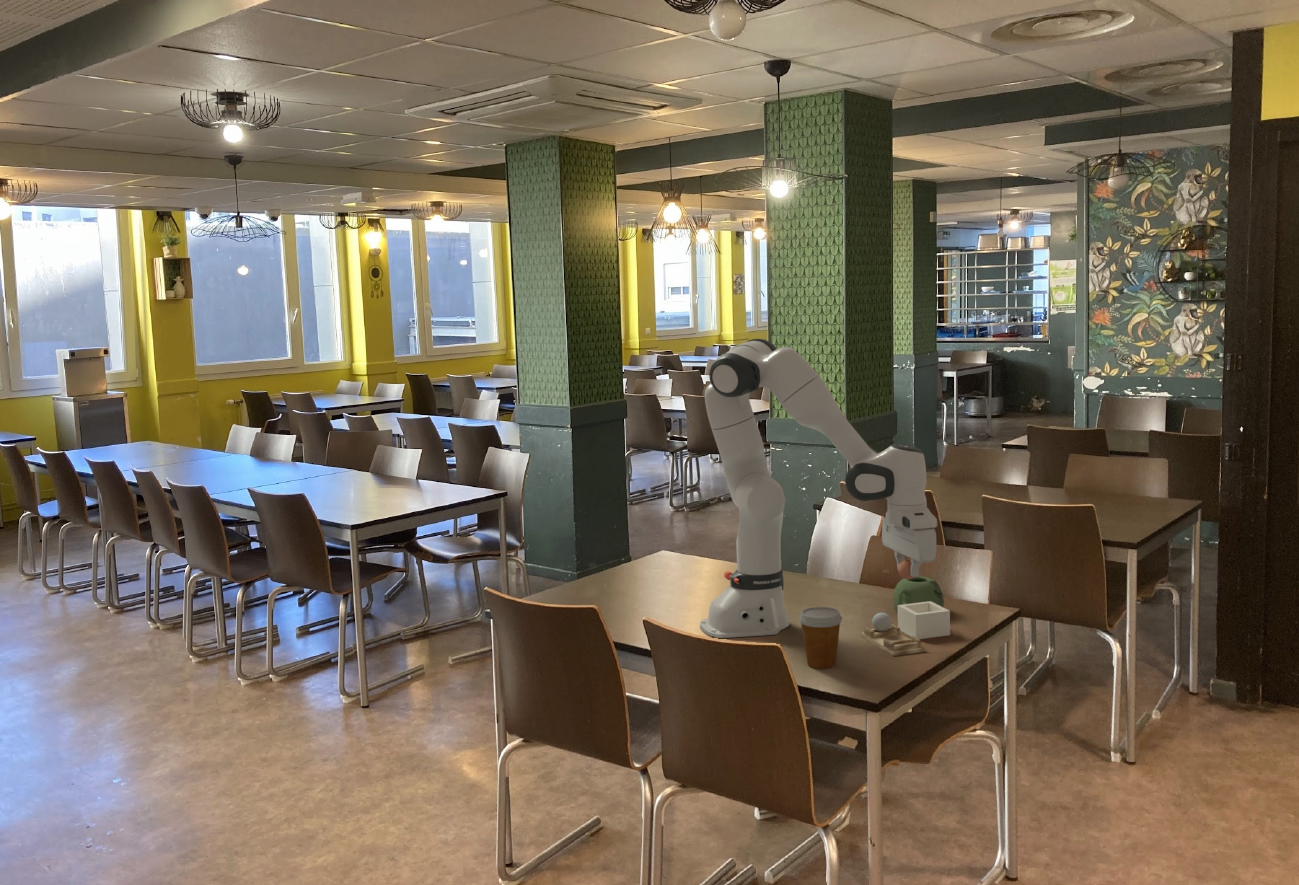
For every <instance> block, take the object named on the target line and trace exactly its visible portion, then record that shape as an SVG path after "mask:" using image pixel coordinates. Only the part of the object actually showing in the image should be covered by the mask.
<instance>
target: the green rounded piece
mask: <svg viewBox="0 0 1299 885" xmlns="http://www.w3.org/2000/svg"><path fill="white" fill-rule="evenodd" d="M893 591H894V592H893V596H892V597H893V598H892V602H893V606H894V610H895V611H896V612H898V605H904V604H912V603H920V602H928V601H931V602H933V603H935V604H937V605H939V606H941V607H943V608H944V605H945V600H944V594H943V592H942V589H941V587H940V585H939V583H938V582H937V581H936V580H935V579H934V578H930V577H926V576H920V575H919V576H917V577H914V578H913V579H904V578H902V579H901V580H899V582H897V584H896V586H895V588H894V590H893Z"/></svg>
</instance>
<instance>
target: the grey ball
mask: <svg viewBox="0 0 1299 885" xmlns="http://www.w3.org/2000/svg"><path fill="white" fill-rule="evenodd" d="M871 621H872V622H871V623H872V626H873V629H876V630H878V631H881V632H884V631H887V630H888V629H889V628H890V627H891V624H893V623H892V622H893V621H892V618H891V617H890V615H889V614H887V613H885V612H878V613H876V614H874V616H873V617H872V620H871Z"/></svg>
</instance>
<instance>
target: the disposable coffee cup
mask: <svg viewBox="0 0 1299 885" xmlns="http://www.w3.org/2000/svg"><path fill="white" fill-rule="evenodd" d="M798 620H799V622H800V624H801V625H800V626H801V632H802V636H803V642H804V650H805V656H806V657H805V658H806V663H807V666H808V667H810V668H812V669H813V668H814V669H818V670H825V669H831V668H834V667H835V666H836V665H837V656H838V655H837V654H838V648H839V647H838V645H839V636H840V635H839V634H840V627H841V622H842V620H843V617H842V615H841V613H840V610H839V609H837V608H833V607H826V606H812V607H807V608H804V609H802V610H801V611H800V615H799V616H798Z"/></svg>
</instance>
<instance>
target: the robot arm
mask: <svg viewBox="0 0 1299 885" xmlns="http://www.w3.org/2000/svg"><path fill="white" fill-rule="evenodd" d="M708 375H709V381H710V383H709V384H708V385H707V386H706V388H705V390H704V404H705V408H706V414H707V418H708V421H709V425H710V428H711V432H712V434H713V435H712V436H713V437H714V441H715V443H716V446H717V449H718V453H719V455H720V456H719V457H720V458H721V462H722V468H723V472H724V476H725V480H726V484H727V487H728V491H729V494H730V497H731V500H732V502H733V504H734V505H735V506H736V507H737V508H738V514H739V515H738V516H739V517H738V518H739V519H738V526H737V527H738V529H737V536H736V540H735V542H736V543H735V544H736V547H735V548H736V568H737V569H736V570H735V571H734V572H731V571H729V570H725V572H724V573H723V578H725V579H726V580H728V581H730V586H728V587H727V588H726V589H725V590H724V591H722V592H721V593H720V594H719V595H718V596H717V597H715V598H714V599H713V600H712V601H711V602H710V605H709V610H708V616H707V618H705V619H702V620H701V621H700V623H699V624H700V625H699V627H700V630H701V631H702V632H704V633H705V634H706V635H707V636H710V637H712V636H714V637H713V638H717V639H726V638H727V639H728V638H739V637H740V638H743V637H744V638H745V637H757V636H759V637H760V636H761V637H762V636H773V635H778V634H779V633H780V632H781V631H782V630H784V629H786V628H788V627H789V626H790V621H789V617H788V614H787V611H786V606H785V600H784V592H783V591H784V584H785V578H784V570H783V568H782V558H781V557H782V556H781V555H782V553H781V537H782V535H781V534H782V528H783V520H784V510H785V506H786V496H785V493H784V490H783V488H782V486H781V485H780V483H779V482H778V481H776V480H775V479H774V478H772V476H771V474H770V472H769V469H768V468H769V467H768V464H767V458H766V455H765V444H764V442H763V439H762V436H761V432H760V429H759V426H758V424H757V420H756V417H755V414H754V412H753V411H754V410H753V408H752V405H751V402H750V401H751V400H750V393H752V392H756V391H757V390H759V388H764V389H768V390H769V391H770V392H771V393H772V394H773V395H774V396H775V398H776V400H777V401H778V402H779V404H780V405H781V406H782V408H783V409H784V410H785V412H786V413H787V414H788V415H789V416H790V417H791V418H792V419H793V420H794V421H796V423H797V424H799V425H800V426H803V427H805V428H809V429H812V430H815V431H818V432H820V433H821V434H823V435H824V436H826V438H827V439H829V441H830V442H831V443H832V444H833V446H834V447H835V448H836V449H837V451H839V453H840V454H841V455H842V457H843V458H844V459H845V460H846V461H847V463H848V465H849V469H848V470H847V473H846V475H845V479H844V480H845V481H844V484H845V488H846V491H847V492H848V493H849V495H850V496H851V497H852V498H854V499H856V500H858V501H861V502H872V501H878V500H883V499H886V501H887V503H886V504H887V505H886V506H887V507H886V508H887V509H886V512H885V517H884V518H883V520H882V526H881V528H882V529H881V543H882V545H883V547H886V548H888V549H890V550H892V551H893V552H894V553H893V554H894V558H895V561H896V568H897V570H898V567H899V565H900V563H901V562H902V561H904V560H906V559H905V557H908V558H910V559H909V560H910V561H911V562H912V564H911V568H909V575H910V576H912V577H917V576H920V568H921V566H922V564H923V563H931V562H932V563H933V562H934V561H935V559H936V556H937V533H936V532H937V531H936V530H935V528H937V527H938V519H937V517H936V516H935V515H934V514H933V513H932V512H931V511H930V509H929V507H927V506H928V505H927V503H928V502H927V497H926V487H927V468H926V467H927V466H926V460H925V455H924V453H923V452H922V450H921V449H920V448H919V447H917V446H913V445H910V444H905V443H904V444H903V443H893V444H891V445H890V446H888V447H887V448H885V449H884V450H882V451H881V452H880V451H877V450H876V449H874V448H873V447H872V446H870V444H868V443H867V441H865V439H864V438H863V437H862V435H861V434H860V433H859V432H858V430H857V429H856V428H855V427H854V425H853V424H852V423H851V422H850V421H849V420H848V418H847V417H846V416H845V414H844V413H843V411H842V410H841V408H840V407H839V405H838V403H837V402H836V400H835V398H834V396H833V394H832V393H831V392H830V389H829V388H828V387H827V385H826V384H825V382H824V380H823V379H822V378H821V377H820V375H819V374H818V373H817V372H816V370H815V369H814V368H813V367H812V365H810V364H809V362H808V361H807V360H806V359H805V358H804V357H803V356H802V355H801V354H799V353H798V352H797V351H796V350H795V349H793V348H791V347H785V346H784V347H781V348H777V347H776V346H775V344H774V343H772V342H771V341H770V340H768V339H764V338H753V339H748V340H746V342H742V343H739V344H738V345H737V344H736V345H735V346H733V347H732V348H730V350H728V351H727V352H725V353H723V354H721V355H719V356H718V357H717V358H716V359H715V360H714V362H713V363H712V365H711V366H710V369H709V374H708Z"/></svg>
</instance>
